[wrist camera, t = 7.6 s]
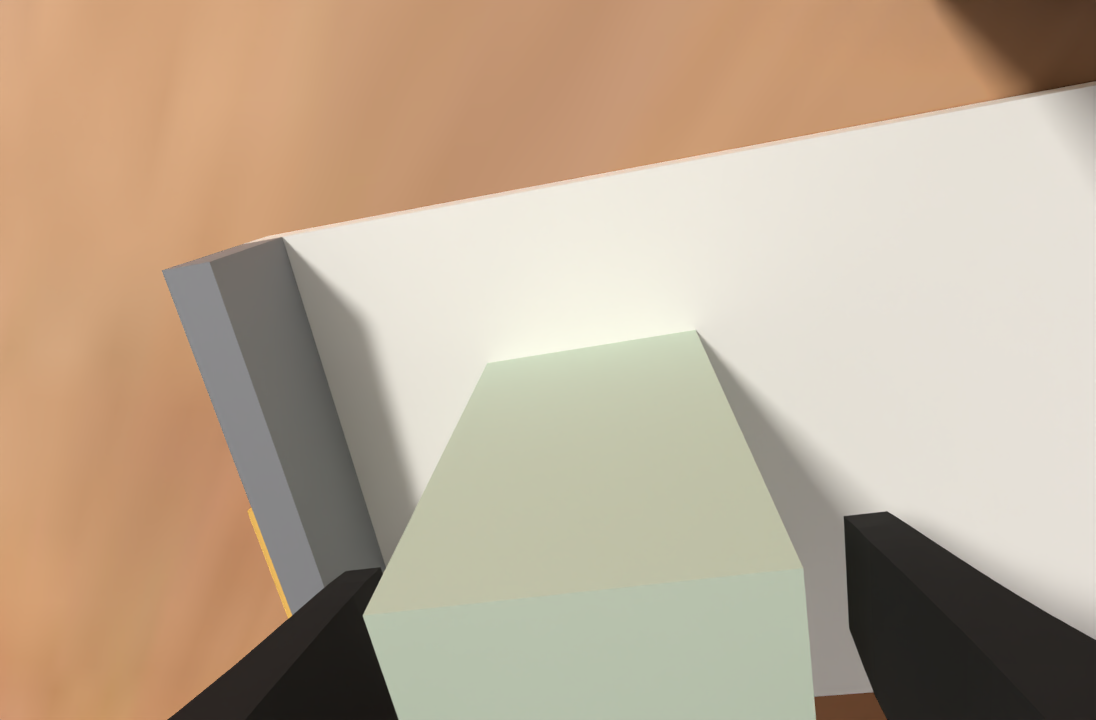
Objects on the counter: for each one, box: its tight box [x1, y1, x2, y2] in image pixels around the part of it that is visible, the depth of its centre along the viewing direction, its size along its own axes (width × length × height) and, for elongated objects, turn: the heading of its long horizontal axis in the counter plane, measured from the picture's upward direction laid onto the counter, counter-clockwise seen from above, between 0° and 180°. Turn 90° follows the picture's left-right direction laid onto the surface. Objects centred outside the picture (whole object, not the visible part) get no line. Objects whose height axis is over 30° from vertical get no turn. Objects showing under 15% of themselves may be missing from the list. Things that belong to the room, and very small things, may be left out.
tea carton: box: [363, 330, 816, 720], centre depth 10 cm, size 4×6×7 cm
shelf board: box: [162, 81, 1096, 697], centre depth 12 cm, size 16×12×3 cm
